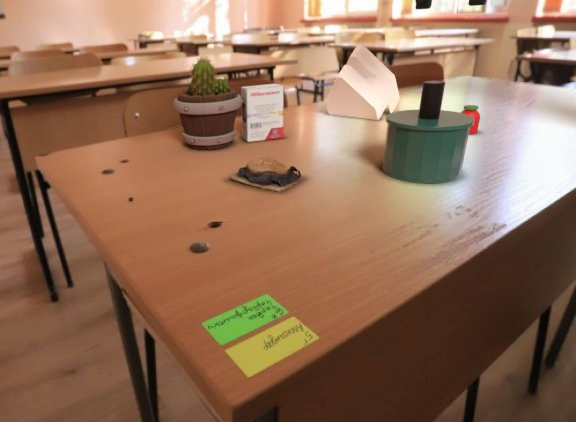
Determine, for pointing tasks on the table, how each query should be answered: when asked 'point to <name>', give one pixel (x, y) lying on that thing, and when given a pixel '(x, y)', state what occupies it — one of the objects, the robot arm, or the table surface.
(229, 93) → the flowerpot
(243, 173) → the bread roll
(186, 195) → the table surface
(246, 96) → the ink box
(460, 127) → the lid
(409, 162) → the tin
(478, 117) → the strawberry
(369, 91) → the slotted wedge
